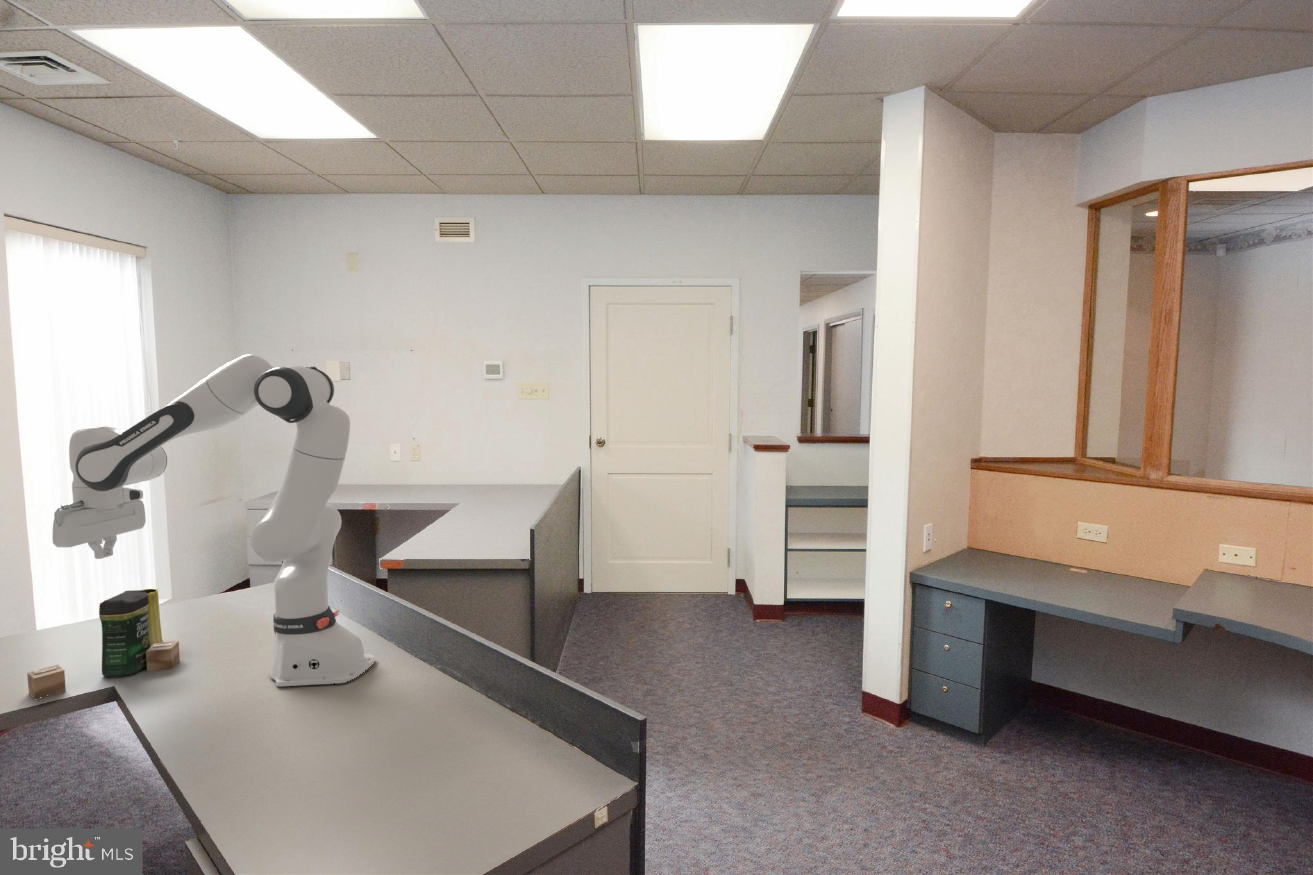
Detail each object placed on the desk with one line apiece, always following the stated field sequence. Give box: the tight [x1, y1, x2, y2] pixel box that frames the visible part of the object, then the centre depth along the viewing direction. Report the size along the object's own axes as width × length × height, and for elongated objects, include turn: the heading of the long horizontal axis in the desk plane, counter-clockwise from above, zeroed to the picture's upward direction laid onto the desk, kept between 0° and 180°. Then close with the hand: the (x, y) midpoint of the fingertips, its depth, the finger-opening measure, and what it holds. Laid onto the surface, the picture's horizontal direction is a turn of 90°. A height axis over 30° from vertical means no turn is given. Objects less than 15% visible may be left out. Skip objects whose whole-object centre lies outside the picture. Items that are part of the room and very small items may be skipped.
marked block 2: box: [146, 640, 181, 672], centre depth 157 cm, size 5×5×5 cm
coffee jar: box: [98, 589, 151, 679], centre depth 154 cm, size 10×8×19 cm
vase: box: [142, 588, 164, 646], centre depth 169 cm, size 6×6×14 cm
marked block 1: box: [27, 664, 67, 700], centre depth 143 cm, size 5×5×5 cm
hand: (104, 557), depth 150 cm, fingers closed
